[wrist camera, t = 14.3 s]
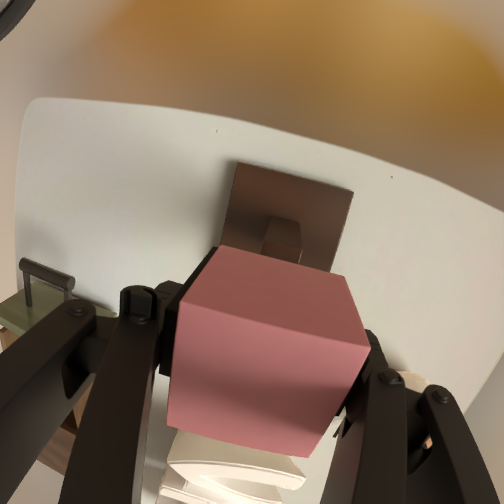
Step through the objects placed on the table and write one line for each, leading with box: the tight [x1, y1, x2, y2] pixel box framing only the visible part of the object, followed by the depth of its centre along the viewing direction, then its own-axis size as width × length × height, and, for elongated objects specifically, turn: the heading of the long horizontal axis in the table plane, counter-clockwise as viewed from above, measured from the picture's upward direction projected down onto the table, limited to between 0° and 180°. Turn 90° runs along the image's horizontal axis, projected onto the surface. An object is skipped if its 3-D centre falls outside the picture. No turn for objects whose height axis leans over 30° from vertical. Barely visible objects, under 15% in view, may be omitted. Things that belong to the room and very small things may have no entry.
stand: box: [220, 162, 354, 273], centre depth 24 cm, size 10×10×9 cm
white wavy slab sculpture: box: [155, 429, 307, 504], centre depth 36 cm, size 35×16×10 cm, turn 159°
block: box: [166, 245, 371, 458], centre depth 11 cm, size 5×5×5 cm
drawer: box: [0, 257, 117, 430], centre depth 30 cm, size 20×12×9 cm, turn 167°
